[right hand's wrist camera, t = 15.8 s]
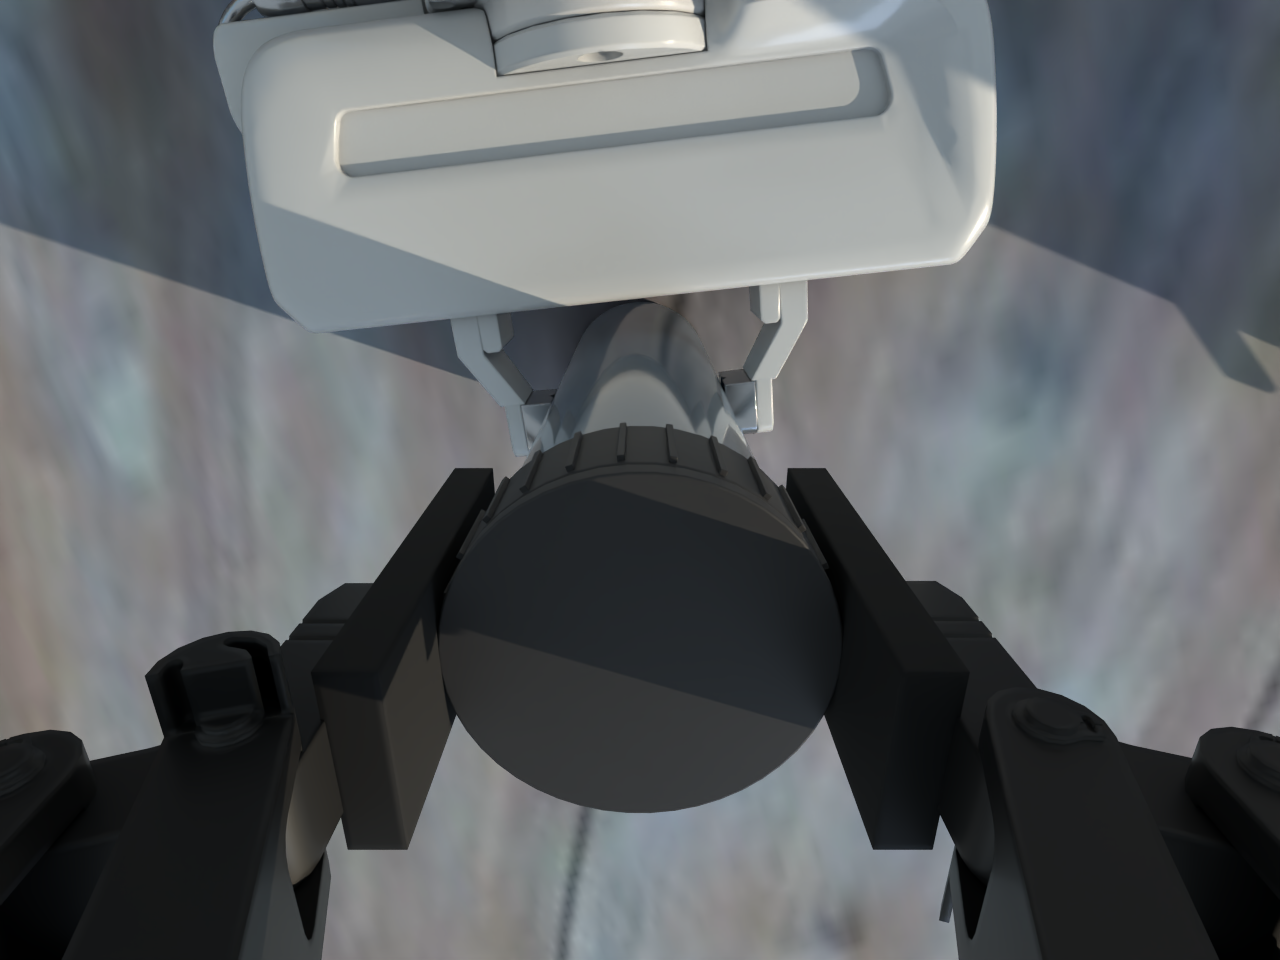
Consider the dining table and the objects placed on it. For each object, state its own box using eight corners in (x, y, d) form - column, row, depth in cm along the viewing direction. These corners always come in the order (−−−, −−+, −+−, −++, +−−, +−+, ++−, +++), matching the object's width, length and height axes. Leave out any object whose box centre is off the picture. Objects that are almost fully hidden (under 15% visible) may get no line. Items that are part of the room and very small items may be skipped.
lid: (862, 653, 13) (904, 737, 11) (568, 766, 14) (555, 863, 12) (732, 355, 11) (754, 390, 9) (398, 513, 12) (348, 577, 10)
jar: (727, 398, 29) (868, 710, 11) (611, 452, 30) (566, 822, 12) (672, 277, 27) (735, 413, 9) (550, 338, 28) (391, 571, 10)
